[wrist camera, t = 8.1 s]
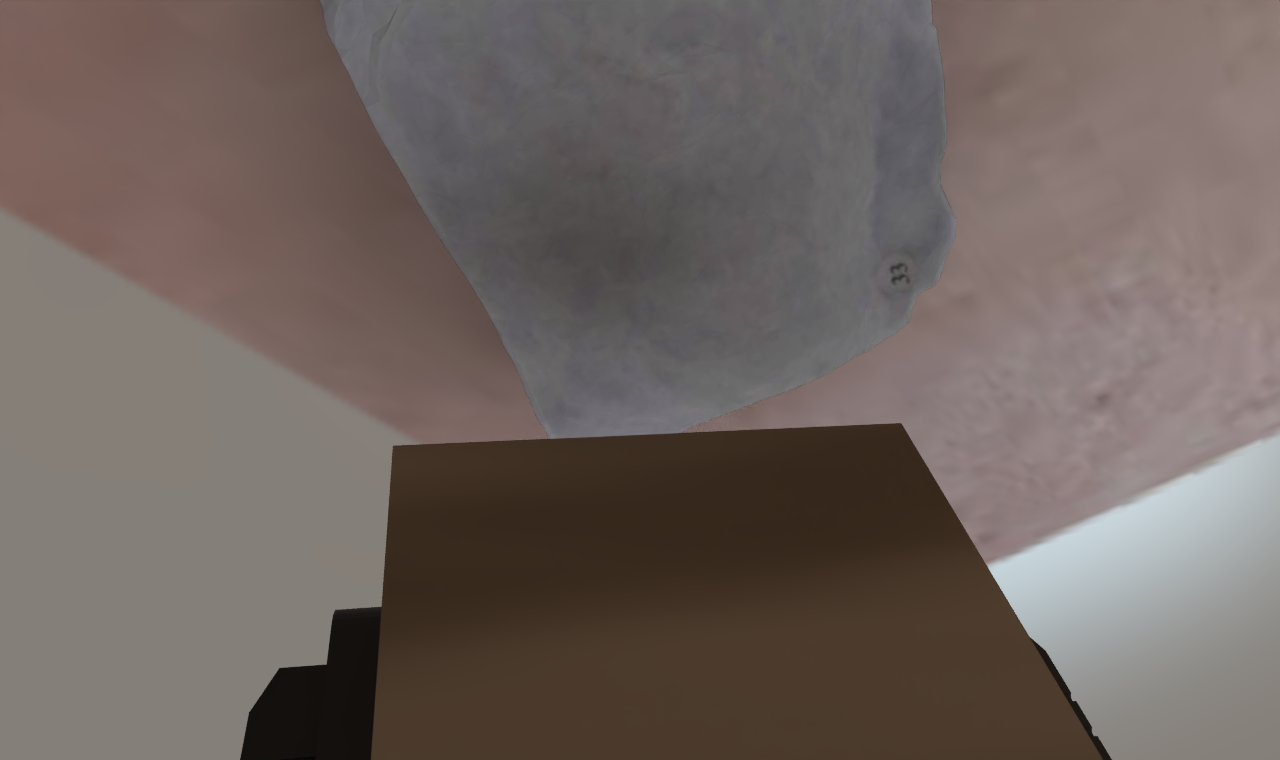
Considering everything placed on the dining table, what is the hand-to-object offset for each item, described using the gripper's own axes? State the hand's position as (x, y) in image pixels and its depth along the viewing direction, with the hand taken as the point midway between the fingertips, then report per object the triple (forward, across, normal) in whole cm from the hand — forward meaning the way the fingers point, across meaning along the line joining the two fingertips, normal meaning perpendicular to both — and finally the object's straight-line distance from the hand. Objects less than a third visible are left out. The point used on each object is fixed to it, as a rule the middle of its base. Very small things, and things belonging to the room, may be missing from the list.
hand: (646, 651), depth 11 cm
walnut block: (0, 0, 0) cm, 0 cm away
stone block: (+13, -2, -2) cm, 13 cm away
